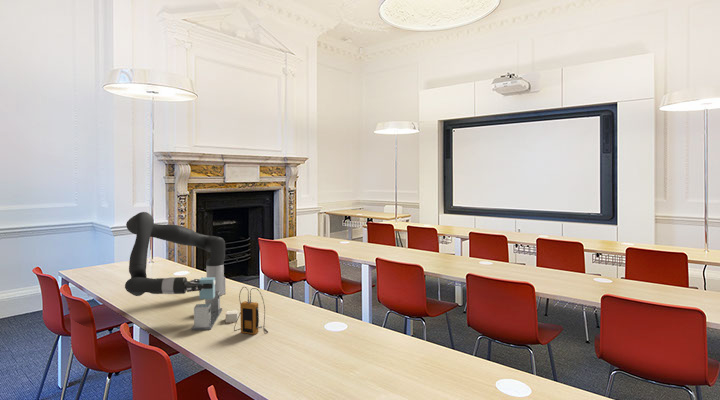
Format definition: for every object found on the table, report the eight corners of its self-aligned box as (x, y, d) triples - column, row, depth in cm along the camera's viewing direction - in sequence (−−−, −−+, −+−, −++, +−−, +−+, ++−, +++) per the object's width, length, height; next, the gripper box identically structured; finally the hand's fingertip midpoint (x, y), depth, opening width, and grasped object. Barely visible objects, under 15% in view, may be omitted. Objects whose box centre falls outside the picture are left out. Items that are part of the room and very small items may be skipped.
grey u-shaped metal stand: (205, 310, 196) (205, 291, 195) (222, 310, 197) (222, 290, 197) (191, 330, 170) (191, 307, 170) (211, 329, 171) (210, 306, 171)
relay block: (227, 319, 185) (227, 310, 185) (238, 318, 186) (238, 310, 186) (225, 322, 180) (225, 314, 180) (236, 322, 181) (236, 313, 181)
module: (201, 296, 185) (201, 277, 184) (215, 296, 186) (215, 277, 185) (199, 299, 180) (199, 279, 180) (213, 298, 181) (213, 279, 181)
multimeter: (275, 328, 173) (274, 283, 173) (262, 336, 164) (262, 289, 163) (246, 324, 178) (246, 280, 177) (233, 332, 169) (232, 286, 168)
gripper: (169, 281, 173) (210, 280, 176) (179, 274, 187) (216, 273, 190) (169, 298, 174) (210, 297, 176) (179, 289, 188) (216, 288, 190)
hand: (213, 284), depth 183 cm, fingers closed on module, 4 cm apart
